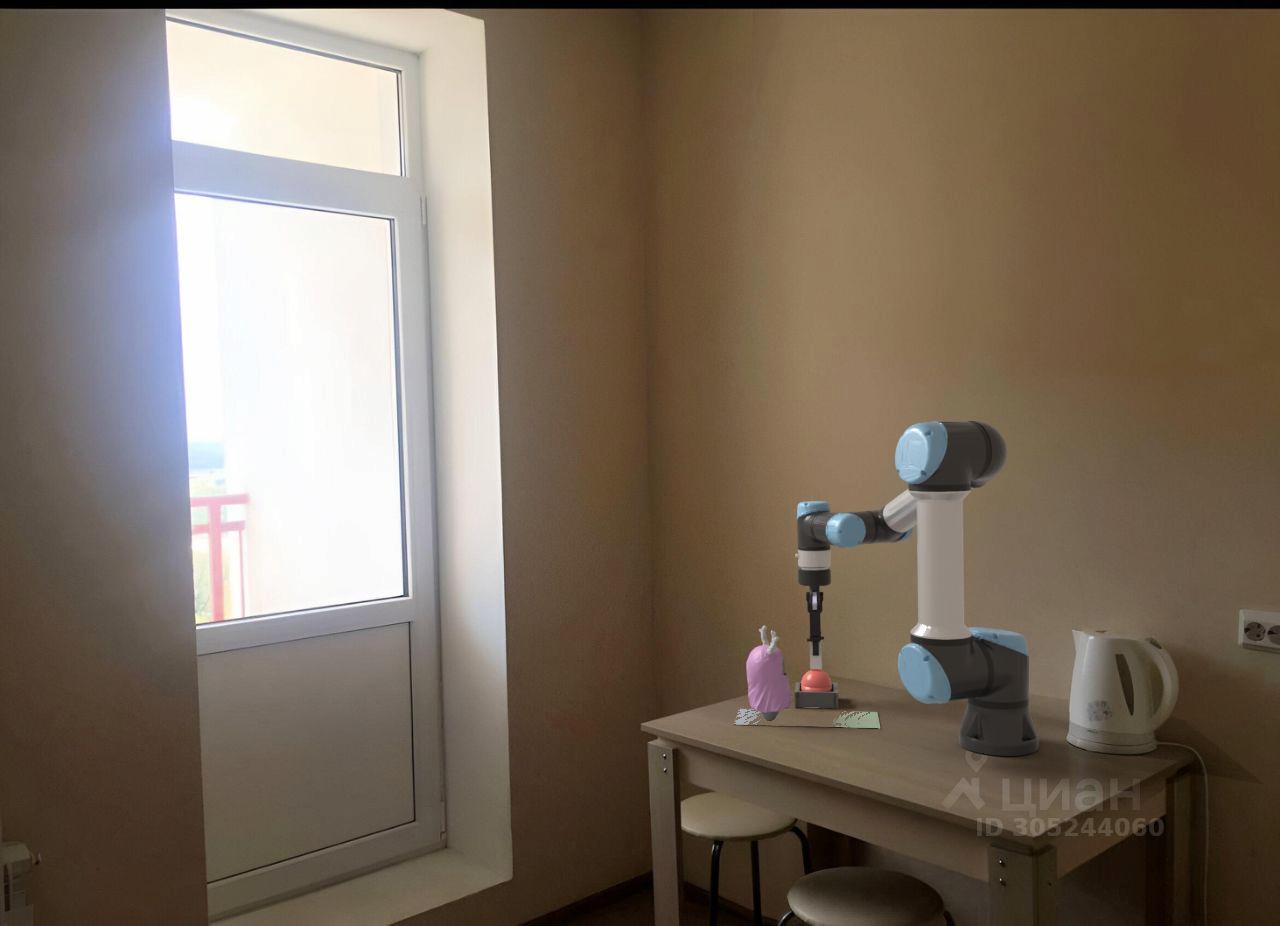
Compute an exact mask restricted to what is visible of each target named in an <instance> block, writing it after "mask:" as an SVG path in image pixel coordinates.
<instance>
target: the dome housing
mask: <svg viewBox="0 0 1280 926" xmlns="http://www.w3.org/2000/svg"><path fill="white" fill-rule="evenodd" d="M831 683H832V692H819V691H801V681H795V686H794V708H795V707H819V708H838V709H839V687H838V686H839V685H838V682H831Z"/></svg>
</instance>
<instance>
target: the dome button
mask: <svg viewBox="0 0 1280 926" xmlns="http://www.w3.org/2000/svg"><path fill="white" fill-rule="evenodd" d="M800 682H801V691H819V692H832V683H833V682H832V680H831V677H830V676H829V674H828V673H827V672H826V671H824V670H822V669H810V670H808V671H807V672H805V674H804V675H803V676H802V679H801V681H800Z"/></svg>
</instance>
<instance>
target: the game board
mask: <svg viewBox="0 0 1280 926" xmlns="http://www.w3.org/2000/svg"><path fill="white" fill-rule="evenodd" d="M739 709H740V710H739ZM739 709H738V711H740V712H738V711H737V714H739V713H741V714H739V715H737V714H736V718H737V717H742V718H740V719H738V720H736V718H735V721H734V724H736V725H735V726H742V725H748V724H749V722H750V721H753V720H754V719H756V718H757V717H758V716H757V715H756V714H759V713H761V712H759V711H758V712H756V711H751V710H754V709H752V708H739ZM747 709H749V710H747ZM747 711H750V712H748V713H745V712H747ZM846 711H847V710H846ZM846 711H844V712H846ZM755 712H756V713H755ZM854 712H855V711H852V712H850V713H849V714H848V713H847V714H846V715H845V714H844V715H843V716H842V717H841V715H840V716H839V718H838V719H837V720H836V721H835V719H836V718H835V719H834V720H833V722H834V721H835V722H834V723H833V724H835V723H841V724H842V725H841V726H839V725H837V726H836V725H835V726H836V727H846V728H845V729H848V728H847V727H848V726H849V727H851V728H850V729H857V728H878V729H877V730H881V724H880V719H879V714H878V713H879V712H878V711H858V712H859V714H857V713H856V715H855V716H854V714H853V716H852V717H851V718H850V716H849V718H848V719H847V720H846V721H845V718H846V717H847V716H848V715H850V714H852V713H854ZM860 712H862V713H860ZM868 712H870V714H869V713H868ZM752 713H754V714H752ZM842 713H843V712H842ZM866 713H868V714H867V715H866ZM745 714H748V715H746V716H744V715H745ZM864 714H865V715H864ZM754 715H755V716H754ZM761 715H762V714H761ZM862 715H864V716H863V717H862ZM743 716H744V717H743ZM750 716H753V717H751V718H749V719H747V717H750ZM759 716H760V715H759ZM860 716H861V717H860ZM859 717H860V719H859V720H858V718H859ZM745 719H747V720H745ZM760 720H762V719H760ZM760 720H759V721H760ZM746 721H748V722H746ZM759 721H757V722H755V723H753V724H756V723H758V722H759ZM735 722H736V723H735ZM744 722H746V723H744ZM765 722H766V721H765ZM822 722H823V721H822ZM845 723H846V725H847V726H846V725H844V724H845ZM858 723H859V724H858ZM734 724H733V725H734ZM756 725H757V724H756Z"/></svg>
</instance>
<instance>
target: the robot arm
mask: <svg viewBox="0 0 1280 926" xmlns="http://www.w3.org/2000/svg"><path fill="white" fill-rule="evenodd" d="M894 453H895V455H894V462H895V463H894V464H895V469H896V471H897V472H898V476H899V477H900V479H901V480H902V481H904V482H905V483H907V484H908V485H907V486H908V488H907V489H906V490H904V491H902V492H901V493H899V495H897V496H896V497H894V499H892V500H890V501H889V502H888V503H887V504H885V505H884V506H882V507H881V508H879V509H877V510H873V509H872V510H860V511H859V510H857V511H845V512H839V511H838V512H836V511H831V508H830V504H829V502H827V501H824V500H823V501H820V500H815V501H814V500H813V501H810V500H809V501H801V502H799V503H798V504H797V511H796V513H797V514H796V515H797V516H796V519H795V520H796V534H797V536H796V537H797V552H798V553H795V556H794V557H795V558H797V559H798V560H797V566H799V567H800V568H798V570H797V582H798V584H799V585H800V586H803V587H809V591H806V593H805V598H806V599H805V601H806V602H807V604H806V605H807V613H809V636H808V637H809V638H806V642H808V643H809V669H810V670H813V669H819V670H822V669H823V659H822V658H823V656H822V655H823V654H822V653H823V652H822V649H823V648H822V641H823V640H825V636H823V635H822V631H821V626H822V625H821V619H822V618H821V613H823V601H824V592H823V591H821V590H820V587H827V586H830V584H832V573H831V572H832V571H831V569H830V568H829V567H831V566H832V560H831V559H832V554H831V551H832V549H831V546H834V547H838V548H841V549H845V548H850V549H851V548H855V547H857V546H860V545H862V546H863V545H871V544H872V545H873V544H887V543H888V544H889V543H890V544H895V543H899V542H904V541H907V540H908V539H910V538H911V536H912V533H913V532H914V527H915V526H916V538H917V539H916V545H917V546H916V548H917V551H916V553H917V554H916V555H917V559H916V560H917V612H918V613H917V614H918V615H917V618H918V620H917V621H918V622H917V624H916V625H915V626H914V627H913V628H911V630H910V643H908V644H905V645H904V646H903V647H902V648H901V650H900V652H899V654H898V657H897V669H898V674H899V677H900V680H901V682H902V684H903V686H904V688H906V690H907V693H909V694H910V696H912V697H913V699H915V701H918V702H920V703H923V704H926V705H927V704H941V705H942V704H947V703H948V702H949V703H950V702H955V701H961V700H967V702H966V703H967V704H966V709H965V711H964V714H963V718H962V720H961V723H960V727H959V729H958V744H959V746H960V747H962V748H964V749H966V750H969V751H972V752H973V753H979V754H983V753H984V754H983V755H991V756H1002V757H1014V756H1015V757H1019V756H1025V755H1026V756H1027V755H1030V754H1033V753H1035V752H1037V751H1038V750H1039V749H1040V745H1039V743H1040V742H1039V741H1040V740H1039V734H1038V730H1037V728H1036V725H1035V723H1034V720H1033V717H1032V714H1031V711H1030V705H1029V704H1030V703H1029V686H1030V684H1029V683H1030V681H1029V680H1030V679H1029V678H1030V677H1029V676H1030V675H1029V670H1030V669H1029V660H1030V659H1029V657H1030V654H1029V649H1028V647H1029V646H1028V640H1027V638H1026V637H1025V636H1024V635H1023V634H1022V633H1019V632H1016V631H1015V632H1014V631H1011V630H1005V629H999V628H992V627H982V626H981V627H979V626H978V627H977V626H972V627H970V626H969V627H967V625H966V624H965V584H964V583H965V581H964V576H965V575H964V573H965V572H964V569H965V568H964V506H963V505H964V499H966V497H967V496H968V495H969V494H970V493H971V492H972V489H980V488H982V487H984V486H985V485H987V484H989V483H990V482H991V481H992V480H994V479H995V478H996V477H997V476H999V474H1000V473H1001V472H1002V471H1003V470H1004V468H1005V466H1006V464H1007V460H1008V453H1009V452H1008V445H1007V441H1006V439H1005V438H1004V436H1003V434H1002V433H1001V432H1000V431H999V430H998V429H997V428H996V427H994V426H993V425H991V424H989V423H987V422H985V421H980V420H968V421H936V420H935V421H934V420H932V421H928V422H927V421H925V422H918V423H915V424H913V425H911V426H909V427H908V428H907V429H906V430H905V431H904V432H903V434H902V435H901V436H900V438H899V440H898V441H897V445H896V448H895V452H894Z"/></svg>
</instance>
